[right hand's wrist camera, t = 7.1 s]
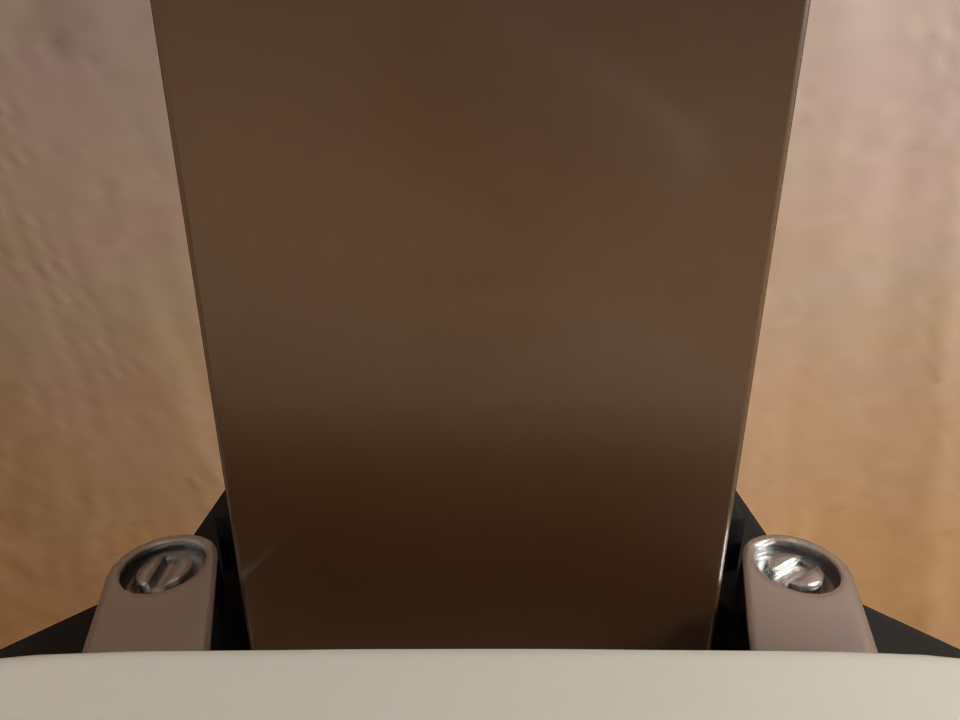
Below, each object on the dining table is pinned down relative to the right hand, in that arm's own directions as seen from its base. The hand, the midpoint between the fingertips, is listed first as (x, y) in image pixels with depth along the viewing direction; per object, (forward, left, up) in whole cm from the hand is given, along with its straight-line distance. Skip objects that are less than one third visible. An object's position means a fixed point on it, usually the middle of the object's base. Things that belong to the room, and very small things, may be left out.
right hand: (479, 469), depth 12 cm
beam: (+20, -23, -4) cm, 31 cm away
